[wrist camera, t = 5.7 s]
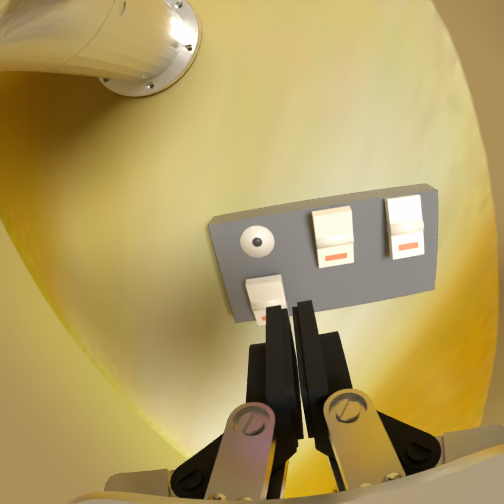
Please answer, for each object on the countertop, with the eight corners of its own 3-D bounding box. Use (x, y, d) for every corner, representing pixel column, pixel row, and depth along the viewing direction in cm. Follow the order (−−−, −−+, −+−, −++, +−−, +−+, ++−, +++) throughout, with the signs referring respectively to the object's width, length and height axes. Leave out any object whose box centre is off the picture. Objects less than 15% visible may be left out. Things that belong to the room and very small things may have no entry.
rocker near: (383, 198, 29) (388, 199, 27) (415, 194, 28) (421, 195, 27) (389, 256, 30) (394, 260, 29) (419, 250, 30) (425, 254, 28)
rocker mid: (311, 209, 29) (313, 218, 28) (348, 204, 28) (352, 212, 27) (317, 260, 32) (319, 270, 31) (351, 254, 32) (354, 264, 30)
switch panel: (213, 216, 34) (207, 226, 31) (425, 183, 30) (438, 190, 27) (238, 308, 39) (235, 323, 36) (425, 277, 35) (435, 290, 32)
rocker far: (246, 277, 32) (245, 287, 31) (280, 272, 32) (281, 282, 31) (258, 317, 36) (257, 327, 34) (289, 313, 35) (289, 323, 34)
